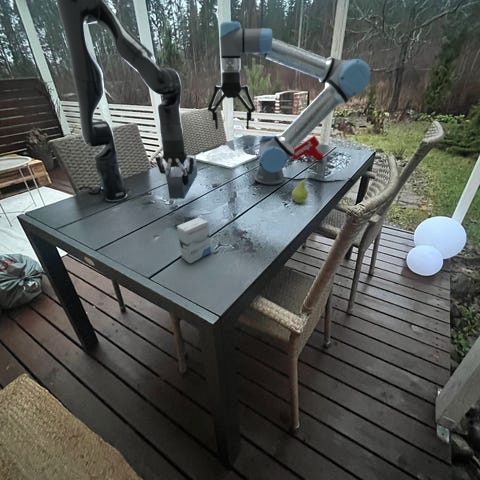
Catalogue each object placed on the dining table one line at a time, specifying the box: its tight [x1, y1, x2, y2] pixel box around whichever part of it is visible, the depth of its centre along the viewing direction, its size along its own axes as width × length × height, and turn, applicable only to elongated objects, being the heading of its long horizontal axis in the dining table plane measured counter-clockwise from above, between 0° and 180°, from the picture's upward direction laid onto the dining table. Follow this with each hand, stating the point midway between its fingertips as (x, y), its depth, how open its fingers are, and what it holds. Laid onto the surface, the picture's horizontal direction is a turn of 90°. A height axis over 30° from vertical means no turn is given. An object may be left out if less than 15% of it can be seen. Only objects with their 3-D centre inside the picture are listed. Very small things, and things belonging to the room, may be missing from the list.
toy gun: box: [290, 135, 324, 163], centre depth 172 cm, size 18×4×15 cm
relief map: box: [194, 144, 258, 170], centre depth 177 cm, size 27×35×5 cm
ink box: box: [176, 216, 212, 264], centre depth 84 cm, size 8×5×12 cm, turn 135°
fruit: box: [291, 174, 311, 204], centre depth 118 cm, size 7×8×12 cm
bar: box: [165, 155, 198, 200], centre depth 109 cm, size 26×5×8 cm, turn 177°
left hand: (178, 184), depth 101 cm, fingers closed on bar, 5 cm apart
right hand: (232, 128), depth 119 cm, fingers open, 13 cm apart
